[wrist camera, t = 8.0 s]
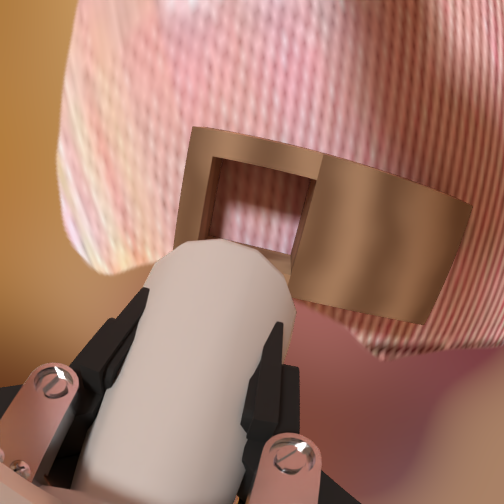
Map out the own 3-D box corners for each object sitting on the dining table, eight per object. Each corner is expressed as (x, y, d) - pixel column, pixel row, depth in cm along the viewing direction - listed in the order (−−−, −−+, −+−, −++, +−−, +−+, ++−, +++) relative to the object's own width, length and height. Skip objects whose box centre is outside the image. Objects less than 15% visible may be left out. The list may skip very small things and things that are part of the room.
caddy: (450, 195, 26) (473, 206, 22) (410, 302, 30) (424, 325, 26) (206, 127, 27) (192, 126, 22) (186, 249, 31) (170, 268, 27)
